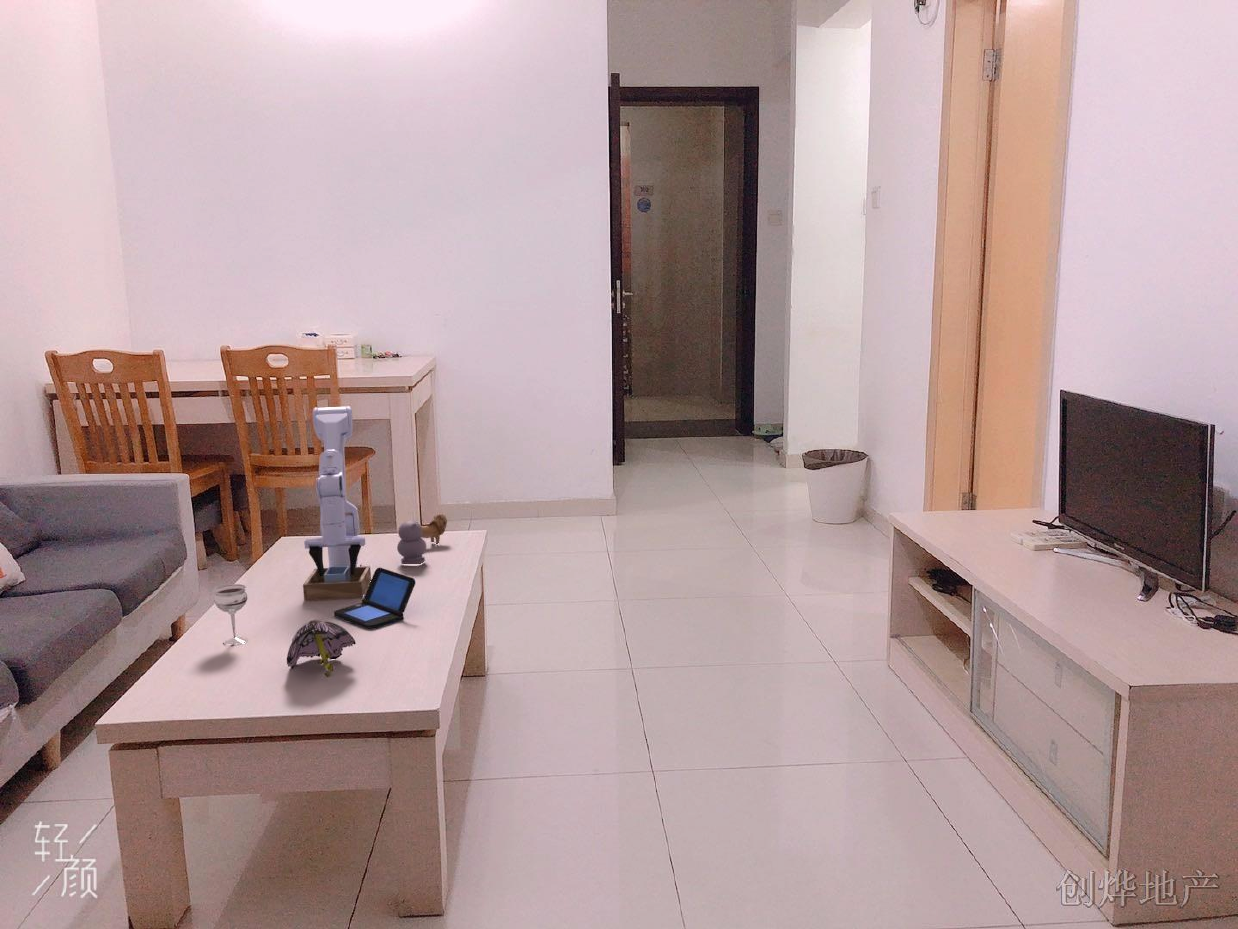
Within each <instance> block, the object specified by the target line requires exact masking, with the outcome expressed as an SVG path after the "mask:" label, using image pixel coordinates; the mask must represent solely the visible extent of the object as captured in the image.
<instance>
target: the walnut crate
mask: <svg viewBox="0 0 1238 929" xmlns="http://www.w3.org/2000/svg"><path fill="white" fill-rule="evenodd" d="M328 568H329V567H324V574H325V573H326V571H327V570H328ZM350 580H351V582H335V583H324V575H323V576H320V575H319V572H318V569H317V568H314V569H313V570H312V572H311V573H310V575H309V576H308V577H307V579H306V580H305V582H304V583H303V584H302V588H303V601H323V600H324V601H326V600H346V599H363V598H364V596H365V594H366V592H367V590H366V589H368V587H369V586H368V585H369V583H370V581H371V580H372V574H371V566H370V565H368V566H367V565H366V566H364V565H363V566H360V567H355V573H354V575H351V572H350ZM363 595H364V596H363ZM362 597H363V598H362Z"/></svg>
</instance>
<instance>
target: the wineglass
mask: <svg viewBox="0 0 1238 929" xmlns="http://www.w3.org/2000/svg"><path fill="white" fill-rule="evenodd" d="M246 588H247V585H245V584H240V583H235V584H226V585H222V586H218V587H215V588H214V589H213V592H214V594H215V595H214V597H213V598H214V599H213V602H214V603H215V604H214V605H216V607H217V609H218V610H220V611H221V612H225V613H227V614H229V615H230V620H231V628H232V635H233V638H229V640H228V639H227V641H226V640H225V644H240V645H242V644H245V643H246V642H247V641H246V639H247V638H246V639H244V638H245V637H236V620H235V614H236V613H237V612H238V611H239V610H242V609H243V607H245V605H246V604H247V601H248V594H247V591H246ZM244 642H245V643H244ZM241 643H242V644H241Z"/></svg>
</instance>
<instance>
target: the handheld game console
mask: <svg viewBox="0 0 1238 929" xmlns="http://www.w3.org/2000/svg"><path fill="white" fill-rule="evenodd" d="M415 586H416V580H415V578H413V577H411V576H408V575H404V574H401V573H398V572H395V571H394V570H393V571H392V570H389V569H386V568H383V567H377V568H376V569H375V571H374V573H373V575H372V576H371V582H370V584H369V586H368V588H367V590H366V592H365V594H364V596H363V598H361V602H359V603H355V604H352V605H349V606H346V607H342V608H340V609H336V610H334V611H333V616H334V617H335V618H338V619H340V620H342V621H346V622H349V623H350V624H353V625H356V626H358V627H361V628H363V629H366V630H375V629H379V628H382V627H385V626H389V625H391V624H395V623H397V622H402V621H404V613H405V611H406V609H407V605H408V603H409V600H410V598H411V596H412V593H413V591H414V588H415Z"/></svg>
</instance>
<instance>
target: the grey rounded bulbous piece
mask: <svg viewBox="0 0 1238 929" xmlns="http://www.w3.org/2000/svg"><path fill="white" fill-rule="evenodd" d="M422 526H423V525H421V524H420V523H419V522H418V521H415V520H414V518H411V520H406V521H404V522H403V523H402V524H400V526H399V527H398V531H397V533H398V537H399V538H400V540H399V541H398V543H397V547H396V549H397V551H398V554H399V555H400V556H402V558H401V559H400V562H401V563H402V564H421V563H423V562H424V561H425V562H426V558H425V556H423V555H424V554H425V552H426V551H427V543H426V541H425V540H424V538H422V534H423V529H422ZM401 563H400V564H401Z"/></svg>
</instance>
